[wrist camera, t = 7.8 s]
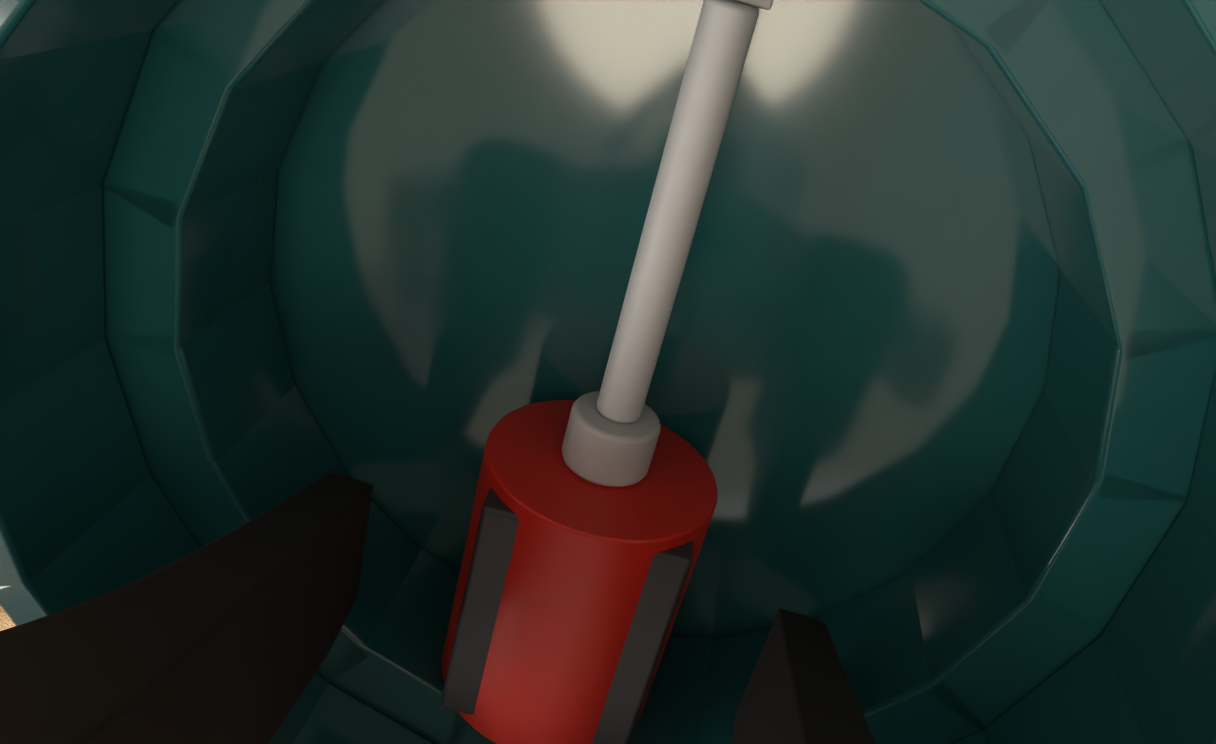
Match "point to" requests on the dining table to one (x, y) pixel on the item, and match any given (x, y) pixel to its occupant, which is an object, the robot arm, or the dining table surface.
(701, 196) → the screwdriver
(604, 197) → the bowl
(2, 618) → the dining table surface
